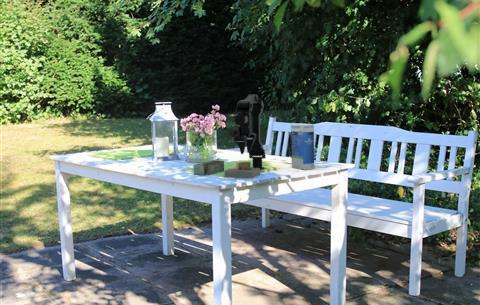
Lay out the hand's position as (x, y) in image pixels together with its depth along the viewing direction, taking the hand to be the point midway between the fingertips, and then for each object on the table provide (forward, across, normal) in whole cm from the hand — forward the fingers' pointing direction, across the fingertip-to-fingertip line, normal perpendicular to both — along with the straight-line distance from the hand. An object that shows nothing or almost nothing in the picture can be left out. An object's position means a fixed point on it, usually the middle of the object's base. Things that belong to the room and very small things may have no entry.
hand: (245, 153), depth 308 cm
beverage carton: (+13, -4, -24) cm, 27 cm away
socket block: (+12, 0, -2) cm, 13 cm away
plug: (+12, 0, 0) cm, 12 cm away
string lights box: (+12, -34, +22) cm, 42 cm away
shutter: (+9, 0, -6) cm, 11 cm away
